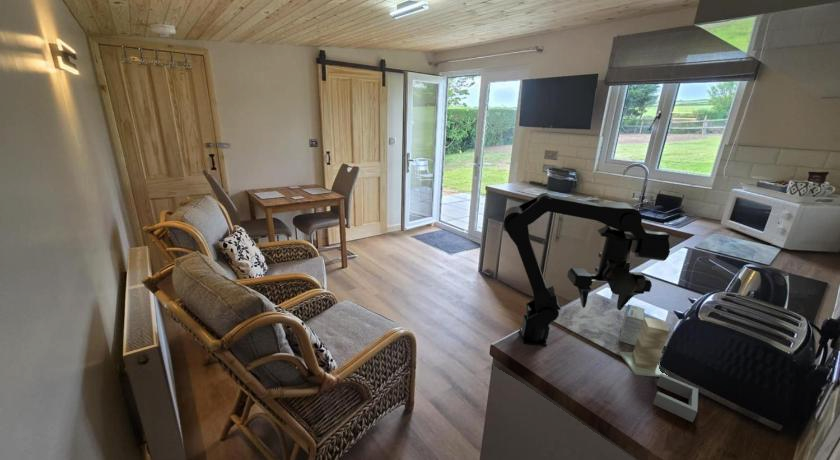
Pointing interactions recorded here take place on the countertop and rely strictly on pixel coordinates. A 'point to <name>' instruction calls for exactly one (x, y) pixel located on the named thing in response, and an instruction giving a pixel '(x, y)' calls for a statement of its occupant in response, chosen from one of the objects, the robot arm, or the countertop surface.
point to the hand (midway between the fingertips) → (600, 308)
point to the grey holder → (675, 405)
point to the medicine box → (631, 324)
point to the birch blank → (650, 343)
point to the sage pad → (638, 370)
